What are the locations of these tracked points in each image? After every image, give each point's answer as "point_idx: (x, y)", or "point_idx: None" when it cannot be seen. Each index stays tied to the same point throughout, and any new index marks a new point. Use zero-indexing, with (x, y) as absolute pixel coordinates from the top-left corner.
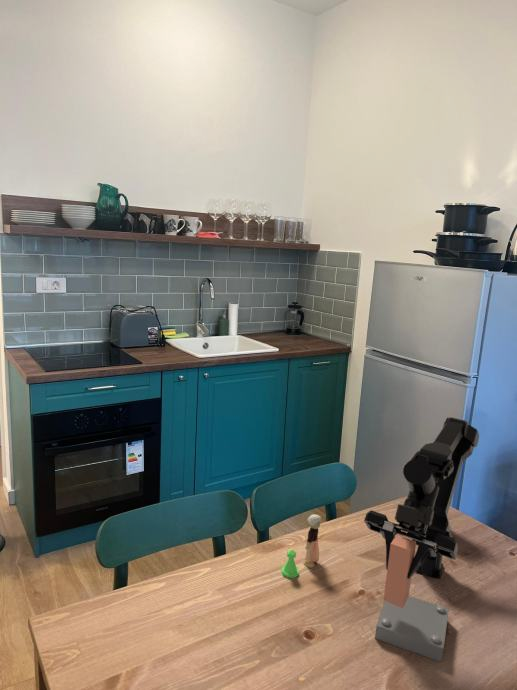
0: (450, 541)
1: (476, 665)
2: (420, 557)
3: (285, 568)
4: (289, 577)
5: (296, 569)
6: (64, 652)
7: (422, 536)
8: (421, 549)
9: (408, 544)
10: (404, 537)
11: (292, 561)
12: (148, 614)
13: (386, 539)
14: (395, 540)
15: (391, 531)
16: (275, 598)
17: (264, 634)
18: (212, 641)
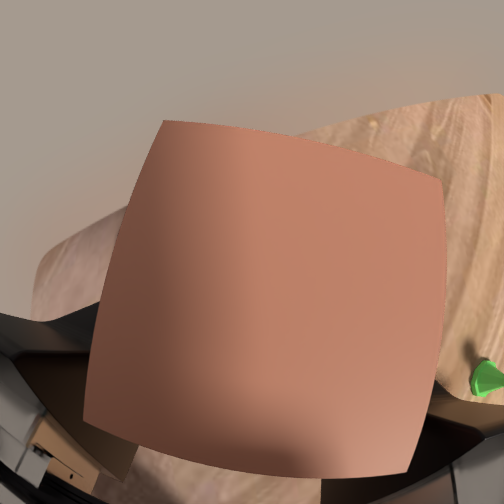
0: None
1: (77, 278)
2: (92, 307)
3: (496, 368)
4: (481, 362)
5: (481, 383)
6: None
7: (17, 494)
8: (51, 337)
9: (189, 273)
10: (286, 474)
11: (500, 377)
12: None
13: (451, 401)
14: (419, 291)
15: (469, 474)
16: (482, 285)
17: (456, 188)
18: (483, 156)
